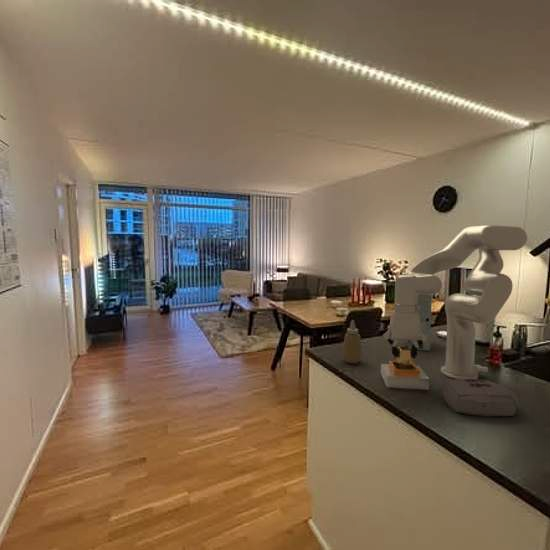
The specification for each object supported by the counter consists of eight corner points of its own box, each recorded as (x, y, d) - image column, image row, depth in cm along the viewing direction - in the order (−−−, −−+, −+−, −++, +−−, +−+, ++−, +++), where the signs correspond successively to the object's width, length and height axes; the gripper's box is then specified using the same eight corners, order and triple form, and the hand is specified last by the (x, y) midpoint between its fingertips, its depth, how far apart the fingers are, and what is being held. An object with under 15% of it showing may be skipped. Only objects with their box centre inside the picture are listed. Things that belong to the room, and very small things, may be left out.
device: (407, 339, 166) (409, 284, 163) (423, 340, 164) (425, 284, 161) (412, 349, 150) (414, 288, 147) (429, 350, 148) (432, 288, 145)
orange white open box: (418, 375, 119) (419, 360, 119) (428, 389, 107) (429, 373, 107) (380, 373, 121) (381, 358, 121) (386, 387, 110) (387, 370, 109)
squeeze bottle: (362, 365, 130) (363, 323, 128) (342, 364, 132) (343, 322, 130) (361, 358, 138) (361, 319, 136) (342, 357, 140) (343, 318, 138)
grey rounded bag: (456, 418, 90) (531, 422, 87) (458, 391, 89) (533, 394, 87) (436, 394, 105) (499, 397, 102) (437, 370, 104) (501, 372, 102)
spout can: (413, 372, 111) (413, 348, 110) (398, 372, 112) (398, 348, 111) (408, 365, 117) (408, 343, 117) (394, 365, 118) (394, 342, 117)
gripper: (427, 307, 114) (425, 354, 116) (379, 306, 117) (378, 352, 119) (434, 311, 107) (432, 361, 109) (382, 310, 110) (381, 359, 111)
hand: (404, 356), depth 114 cm, fingers open, 5 cm apart
